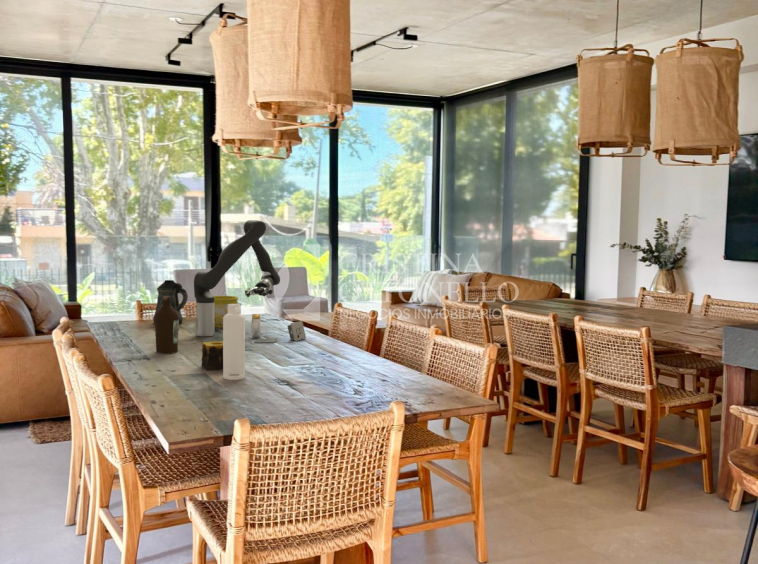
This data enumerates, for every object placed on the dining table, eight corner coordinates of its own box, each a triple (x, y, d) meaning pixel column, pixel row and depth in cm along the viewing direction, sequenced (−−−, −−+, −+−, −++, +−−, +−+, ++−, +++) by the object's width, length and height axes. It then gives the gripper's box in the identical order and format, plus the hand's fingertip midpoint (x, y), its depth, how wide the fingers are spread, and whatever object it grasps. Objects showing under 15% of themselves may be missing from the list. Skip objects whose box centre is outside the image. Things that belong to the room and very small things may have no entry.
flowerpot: (234, 328, 394) (234, 299, 393) (202, 328, 394) (202, 298, 393) (241, 324, 412) (241, 295, 411) (210, 323, 412) (210, 295, 411)
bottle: (234, 380, 265) (234, 306, 262) (218, 378, 269) (218, 304, 267) (249, 377, 272) (249, 304, 269) (233, 374, 276) (233, 302, 274)
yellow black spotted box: (206, 370, 282) (206, 346, 281) (200, 366, 291) (200, 342, 290) (232, 368, 287) (232, 344, 286) (225, 364, 295) (225, 340, 295)
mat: (254, 343, 348) (254, 341, 348) (256, 339, 358) (256, 338, 358) (274, 343, 348) (274, 342, 348) (276, 339, 358) (276, 338, 358)
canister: (251, 338, 361) (251, 315, 360) (252, 337, 366) (252, 314, 365) (259, 338, 362) (259, 315, 361) (260, 337, 366) (260, 314, 365)
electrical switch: (295, 341, 355) (294, 323, 354) (287, 341, 357) (286, 323, 357) (306, 339, 363) (305, 321, 363) (298, 339, 365) (296, 321, 365)
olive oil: (151, 353, 316) (151, 298, 314) (158, 349, 326) (157, 295, 324) (175, 354, 316) (175, 298, 314) (181, 349, 327) (181, 295, 324)
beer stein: (154, 321, 416) (153, 279, 414) (188, 321, 420) (188, 279, 418) (152, 325, 400) (151, 281, 398) (187, 325, 404) (187, 281, 402)
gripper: (249, 280, 385) (241, 288, 370) (275, 279, 384) (268, 287, 368) (251, 294, 387) (243, 302, 372) (276, 293, 386) (269, 301, 370)
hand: (255, 294), depth 370 cm, fingers open, 8 cm apart
